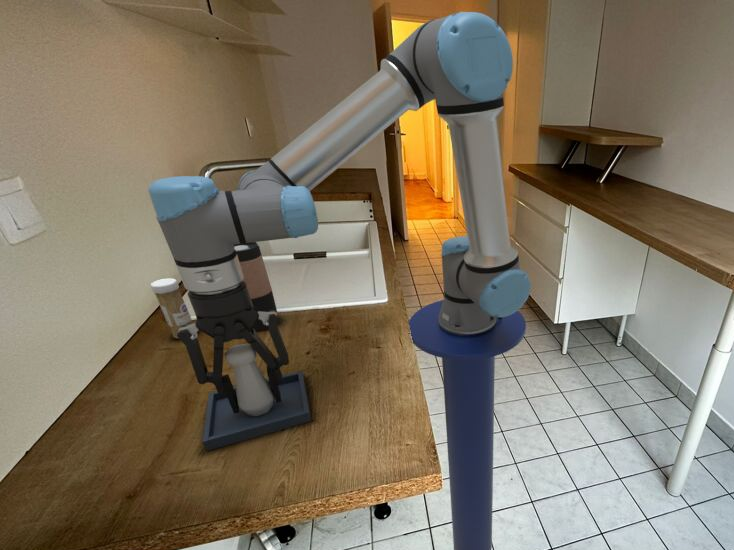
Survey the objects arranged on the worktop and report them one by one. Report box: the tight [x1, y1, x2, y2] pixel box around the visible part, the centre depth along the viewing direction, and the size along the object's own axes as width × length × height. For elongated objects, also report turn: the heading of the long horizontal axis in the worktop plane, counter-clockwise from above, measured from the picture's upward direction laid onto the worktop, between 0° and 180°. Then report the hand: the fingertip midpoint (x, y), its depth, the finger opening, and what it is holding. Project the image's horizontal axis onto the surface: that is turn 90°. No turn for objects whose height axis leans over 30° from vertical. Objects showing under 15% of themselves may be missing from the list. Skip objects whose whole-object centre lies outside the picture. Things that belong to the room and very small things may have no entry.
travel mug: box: [234, 242, 280, 332], centre depth 97 cm, size 8×8×20 cm
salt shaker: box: [224, 343, 275, 416], centre depth 71 cm, size 6×6×13 cm
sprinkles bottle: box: [150, 277, 194, 340], centre depth 93 cm, size 5×5×13 cm
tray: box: [202, 370, 312, 452], centre depth 74 cm, size 16×14×2 cm
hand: (257, 402), depth 74 cm, fingers closed on salt shaker, 6 cm apart
